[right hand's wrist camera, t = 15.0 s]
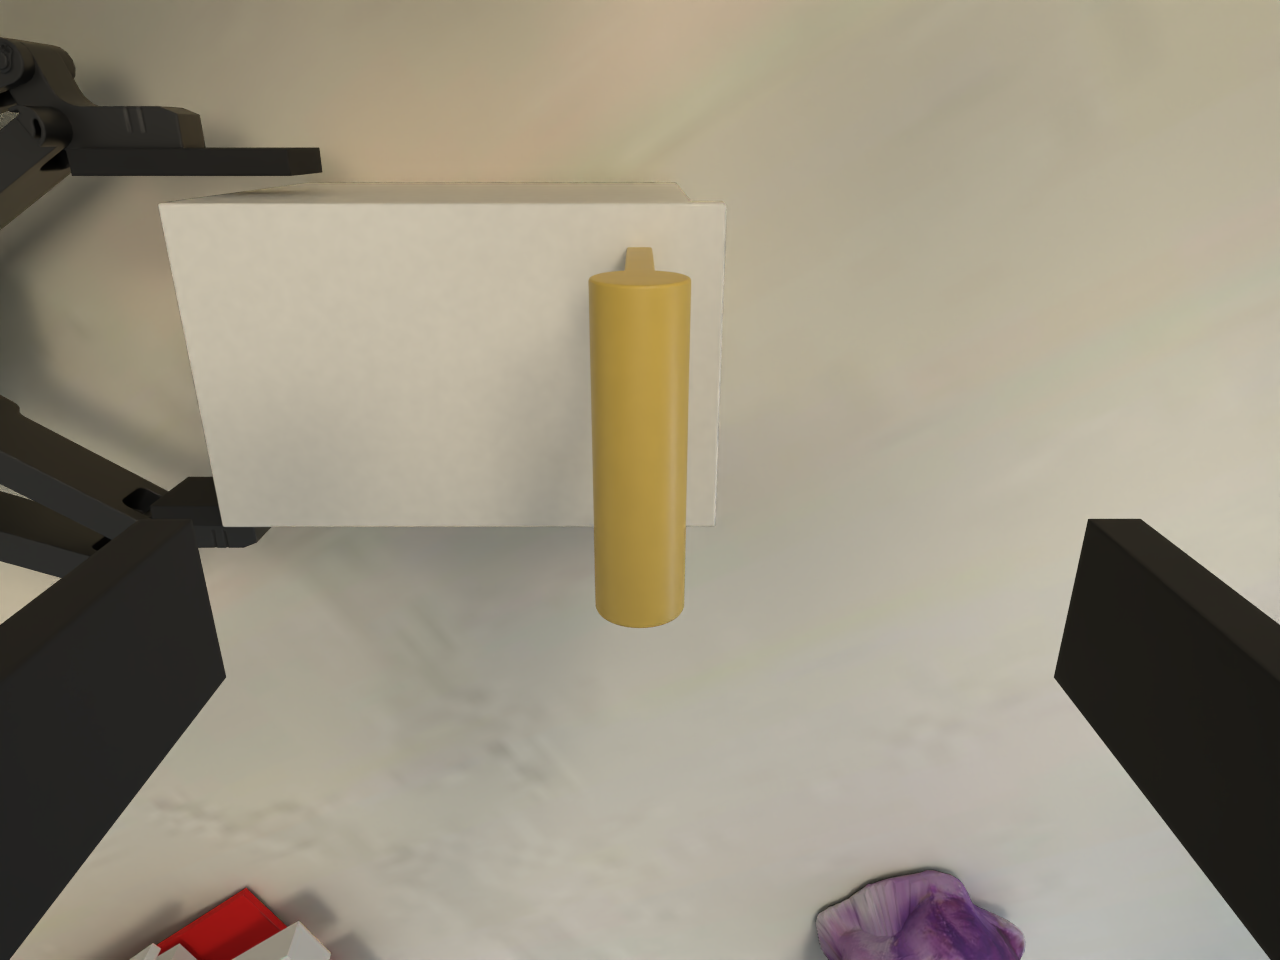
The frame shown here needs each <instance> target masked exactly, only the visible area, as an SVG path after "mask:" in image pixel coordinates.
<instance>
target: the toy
mask: <svg viewBox="0 0 1280 960" xmlns="http://www.w3.org/2000/svg"><path fill="white" fill-rule="evenodd" d="M330 956H331V953H330V952H329V951H328V950H327V949H326V948H325V947H324V946H323V945H322V944H321V943H320V942H319V941H318V939H317V938H316V937H315V936H314V935H313V934H312V933H311V932H310V931H309V930H308V929H307V928H306V927H305V926H304V925H303V924H302V923H301V922H300V921H297V922H295V923H294V924H292V925H290V926H289V927H287V926H286V925H285V924H284V923H283V922H282V921H281V920H279V919H278V918H277V917H276V916H275V915H274V914H273V913H272V912H271V911H270V910H269V909H268V908H267V907H266V906H265V905H264V904H263V903H262V902H260V901H259V900H258V899H257V898H256V897H255V896H254V895H253V894H252V893H251V892H250V891H249V890H248V889H247V888H245V889H243V890H242V891H240V892H239V893H237V894H235V895H234V896H232V897H231V898H229V899H228V900H226V901H225V902H223V903H221V904H220V905H218V906H217V907H215V908H214V909H212V910H210V911H209V912H207V913H206V914H204V915H203V916H201V917H199V918H198V919H196V920H195V921H193V922H192V923H190V924H189V925H187V926H185V927H184V928H182V929H181V930H179V931H178V932H176V933H174V934H173V935H171V936H170V937H168V938H167V939H165V940H163V941H162V942H160V943H159V944H157V945H155V944H154V943H152V944H151V945H149V946H148V947H146V948H145V949H144V950H142V951H141V952H139V953H138V954H137V955H135V956H134V957H132V958H131V959H130V960H330Z"/></svg>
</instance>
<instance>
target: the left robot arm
mask: <svg viewBox="0 0 1280 960" xmlns="http://www.w3.org/2000/svg"><path fill="white" fill-rule="evenodd" d="M74 77H75V66H74V63H73V60H72V59H71V57H70V56H69V55H68V53H67V52H66V51H64V50H63V49H61V48H60V47H57V46H53V45H48V44H41V43H35V42H29V41H22V40H16V39H10V38H3V37H0V114H2V113H4V112H6V111H10V112H19V115H18V116H17V117H16V118H14V119H13V120H12V121H11V122H10V123H8V124H7V125H6V126H5V127H4V128H3V129H1V130H0V230H1V229H2V228H3V227H5V226H6V225H7V224H8V223H9V222H11V221H12V220H13V219H14V218H16V217H17V216H18V215H19V214H21V213H22V212H23V211H24V210H26V209H27V208H28V207H29V206H31V205H32V204H33V203H34V202H35V201H37V200H38V199H39V198H40V197H42V196H43V195H44V194H45V193H47V192H48V191H49V190H50V189H52V188H53V187H54V186H55V185H56V184H58V183H59V182H60V181H61V180H63V179H64V178H65V177H66V176H68V175H69V174H70V173H71V174H72V176H294V175H303V174H312V173H321V172H322V165H321V157H320V150H319V148H205V142H204V137H203V131H202V125H201V120H200V115H199V114H196V113H194V112H191V111H189V110H186V109H184V108H176V107H160V106H97V105H95V104H93V103H92V102H90V101H89V100H88V99H87V98H86V97H85V96H84V95H83V94H82V92H81V91H80V89H79V88H78V86H77V84H76V82H75V80H74ZM0 484H2V485H4V486H6V487H8V488H10V489H12V490H14V491H16V492H18V493H20V494H22V495H24V496H26V497H28V498H30V499H32V500H29V499H26V498H22V497H19V496H15V495H12V494H8V493H5V492H1V491H0V561H2V562H6V563H9V564H13V565H17V566H20V567H24V568H27V569H31V570H35V571H38V572H42V573H45V574H49V575H53V576H56V577H60V578H63V577H64V576H65V575H67V574H68V573H69V572H70V571H72V570H73V569H74V568H76V567H77V566H78V565H80V564H81V563H82V562H84V561H85V560H86V559H88V558H89V557H90V556H91V555H93V554H94V553H95V552H97V551H98V550H99V549H101V548H102V547H103V546H105V545H106V544H107V543H109V542H110V541H111V540H112V539H114V538H115V537H116V536H118V535H119V534H120V533H122V532H123V531H124V530H126V529H127V528H128V527H130V526H131V525H132V524H133V523H135V522H136V521H137V520H139V519H192V522H193V527H194V531H195V536H196V541H197V545H198V548H215V547H217V548H226V547H229V548H244V547H246V546H249V545H252V544H254V543H257V542H258V541H259V540H260V538H261V537H262V536H263V535H264V534H265V533H266V532H267V531H268V530H269V529H270V528H271V527H224V526H223V524H222V519H221V514H220V509H219V504H218V499H217V494H216V490H215V485H214V480H213V477H188V478H186V479H185V480H184V481H182V482H181V483H180V484H178V485H177V486H176V487H174V488H173V489H172V490H170V491H169V492H168V491H166V490H164V489H163V488H161V487H159V486H157V485H155V484H153V483H151V482H149V481H147V480H145V479H143V478H141V477H139V476H138V475H136V474H134V473H132V472H130V471H128V470H126V469H124V468H122V467H120V466H118V465H116V464H115V463H113V462H111V461H109V460H107V459H105V458H103V457H101V456H99V455H97V454H95V453H93V452H91V451H90V450H88V449H86V448H84V447H82V446H80V445H78V444H76V443H74V442H72V441H70V440H68V439H67V438H65V437H63V436H61V435H59V434H57V433H55V432H53V431H51V430H49V429H47V428H45V427H43V426H42V425H40V424H38V423H36V422H34V421H32V420H30V419H28V418H26V417H24V416H23V415H21V414H20V412H19V406H18V405H17V404H16V403H14V402H13V401H11V400H9V399H7V398H5V397H3V396H1V395H0ZM33 500H34V501H33Z"/></svg>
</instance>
